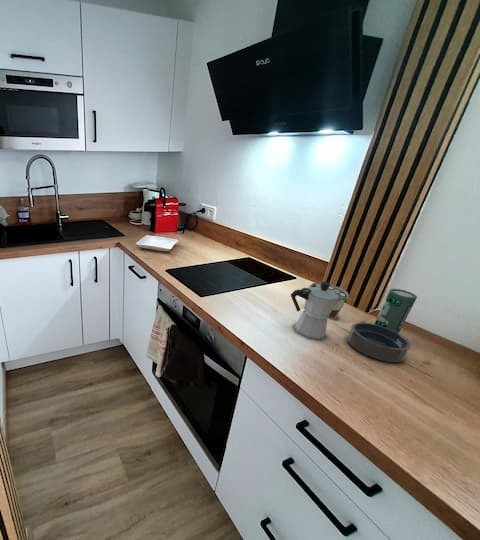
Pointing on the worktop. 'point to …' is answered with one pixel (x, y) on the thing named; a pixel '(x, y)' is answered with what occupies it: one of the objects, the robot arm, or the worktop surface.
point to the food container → (340, 303)
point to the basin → (378, 342)
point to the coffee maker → (315, 310)
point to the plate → (157, 243)
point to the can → (395, 309)
